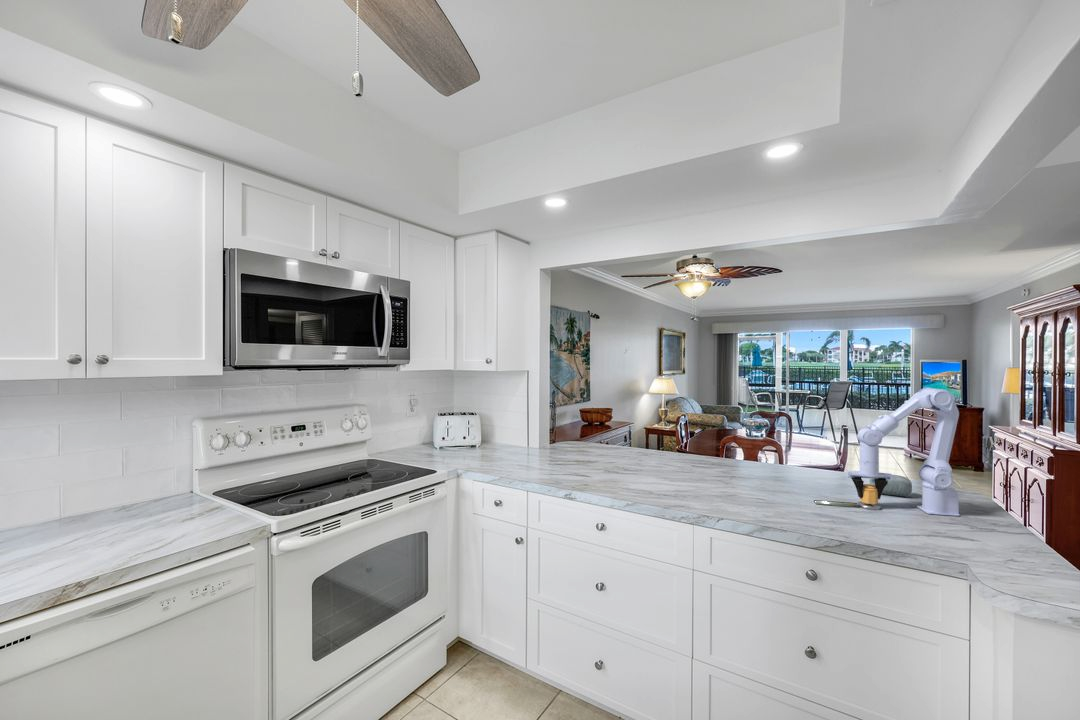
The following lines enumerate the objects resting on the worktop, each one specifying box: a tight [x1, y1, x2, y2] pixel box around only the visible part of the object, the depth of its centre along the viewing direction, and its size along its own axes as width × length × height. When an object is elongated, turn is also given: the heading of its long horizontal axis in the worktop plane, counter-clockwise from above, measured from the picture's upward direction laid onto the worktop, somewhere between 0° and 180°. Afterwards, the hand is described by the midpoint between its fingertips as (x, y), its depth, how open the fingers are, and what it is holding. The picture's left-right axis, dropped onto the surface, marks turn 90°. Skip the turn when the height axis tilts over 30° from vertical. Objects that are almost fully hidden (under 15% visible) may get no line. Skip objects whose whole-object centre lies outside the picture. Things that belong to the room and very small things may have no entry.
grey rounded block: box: [869, 474, 913, 498], centre depth 184 cm, size 14×10×10 cm
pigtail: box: [813, 499, 882, 511], centre depth 172 cm, size 21×7×4 cm, turn 75°
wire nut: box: [859, 483, 879, 504], centre depth 170 cm, size 5×5×6 cm
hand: (869, 497), depth 170 cm, fingers closed on wire nut, 5 cm apart
